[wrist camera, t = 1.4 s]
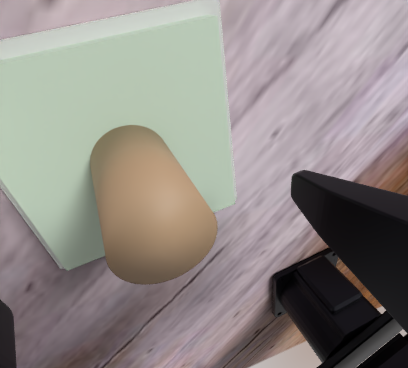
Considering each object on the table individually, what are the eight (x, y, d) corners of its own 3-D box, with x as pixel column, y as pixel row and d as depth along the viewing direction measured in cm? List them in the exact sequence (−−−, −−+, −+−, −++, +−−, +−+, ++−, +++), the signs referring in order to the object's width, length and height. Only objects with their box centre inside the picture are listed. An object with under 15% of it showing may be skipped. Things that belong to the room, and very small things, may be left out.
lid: (228, 195, 16) (292, 273, 12) (66, 259, 14) (69, 382, 10) (208, 14, 11) (313, 30, 6) (-62, 73, 9) (-192, 161, 4)
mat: (233, 195, 17) (237, 199, 17) (60, 263, 14) (60, 268, 14) (214, -4, 11) (219, -4, 10) (-88, 57, 8) (-94, 59, 8)
